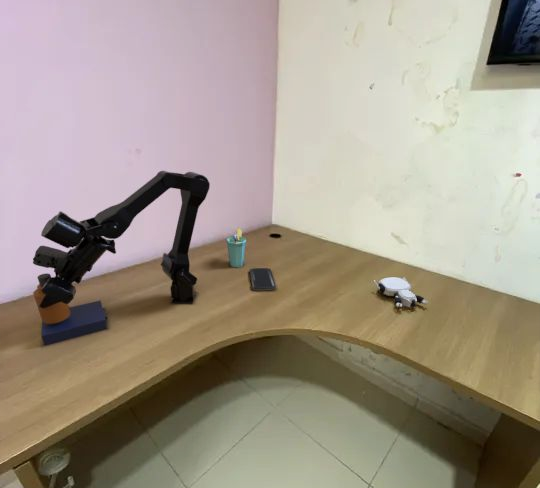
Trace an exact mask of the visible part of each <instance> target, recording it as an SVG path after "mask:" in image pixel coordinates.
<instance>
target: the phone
mask: <svg viewBox="0 0 540 488" xmlns="http://www.w3.org/2000/svg"><path fill="white" fill-rule="evenodd" d="M249 275H250V280H251V287H252V290H253V291H255V292H256V291H257V292H258V291H260V292H261V291H262V292H263V291H275V290H276V283H275V280H274V277H273V273H272V270H271V268H270V267H255V268H254V267H253V268H250V269H249Z"/></svg>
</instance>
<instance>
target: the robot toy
mask: <svg viewBox="0 0 540 488" xmlns="http://www.w3.org/2000/svg"><path fill="white" fill-rule="evenodd" d="M373 282H374V284H375V285H376V287H377V289H378V290H379V291H380V292H381V293H382V294H383V295H385V296H387V297H394V305H395V306H396V307H397V308H402V307H406V308H414V307H416V305H417V303H419V304H423V305H427V304H428V303H429V301H427V300H426V299H425V298H424V297H423V296H421V295H419V294H417V295H416V294H415V293H413V292H412V290H411V289H412V285H411V284H410V283H409V282H408V280H407V279H406V277H404V276H403V278H402V277H385V278H382V279H380V280H379V281H378V283H377V281H376V280H375V279H373Z"/></svg>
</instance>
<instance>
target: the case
mask: <svg viewBox="0 0 540 488" xmlns="http://www.w3.org/2000/svg"><path fill="white" fill-rule="evenodd" d="M69 309H70V313H71V314H70V316H69V317H68V318H67V319H65V320H63V321H61V322H58V323H53V324H47V323H44V322H43V321H42V320H41V339H42V342H43V345H44V346H49V345H51V344H52V345H53V344H55V343H60V342H63V341H67V340H70V339H73V338H78V337H82V336H86V335H88V334H89V335H90V334H92V333H97V332H100V331H104V330H107V329H108V326H107V321H106V320H108V315H107V312H106V307H103V305H102V301H101V300H96V301H92V302H87V303H83V304H78V305H74V306H69Z"/></svg>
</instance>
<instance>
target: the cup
mask: <svg viewBox="0 0 540 488" xmlns="http://www.w3.org/2000/svg"><path fill="white" fill-rule="evenodd" d="M242 235H243V231H242V227H237V229H236V230H235V232H234V233H233V236H229V237H227V238H226V240H225V241H226V244H227V252H228V260H229V265H230V266H231V268H242V267H243V265H244V261H245V252H246V251H245V250H246V243H247V239H246V238H245V237H244V236H242Z"/></svg>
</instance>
